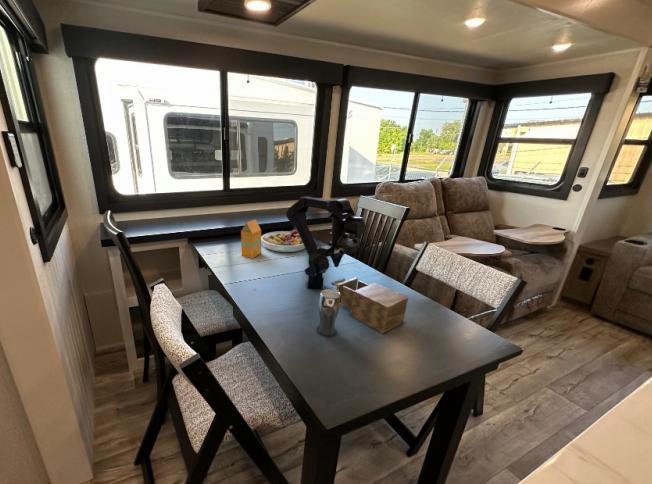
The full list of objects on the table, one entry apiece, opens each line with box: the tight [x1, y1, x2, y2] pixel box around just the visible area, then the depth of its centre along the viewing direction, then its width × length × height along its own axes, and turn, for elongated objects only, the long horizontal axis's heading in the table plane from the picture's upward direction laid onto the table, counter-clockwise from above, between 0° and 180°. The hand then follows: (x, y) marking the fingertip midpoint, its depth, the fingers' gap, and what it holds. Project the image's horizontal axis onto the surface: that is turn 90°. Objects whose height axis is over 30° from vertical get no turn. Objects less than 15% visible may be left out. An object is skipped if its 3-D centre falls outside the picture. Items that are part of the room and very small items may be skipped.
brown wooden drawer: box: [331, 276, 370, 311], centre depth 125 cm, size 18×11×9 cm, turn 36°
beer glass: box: [317, 288, 341, 337], centre depth 107 cm, size 7×7×15 cm
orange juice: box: [240, 218, 262, 259], centre depth 175 cm, size 8×9×20 cm
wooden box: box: [350, 282, 409, 334], centre depth 116 cm, size 15×13×11 cm
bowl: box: [261, 228, 306, 253], centre depth 193 cm, size 30×30×8 cm
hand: (336, 267), depth 130 cm, fingers closed
